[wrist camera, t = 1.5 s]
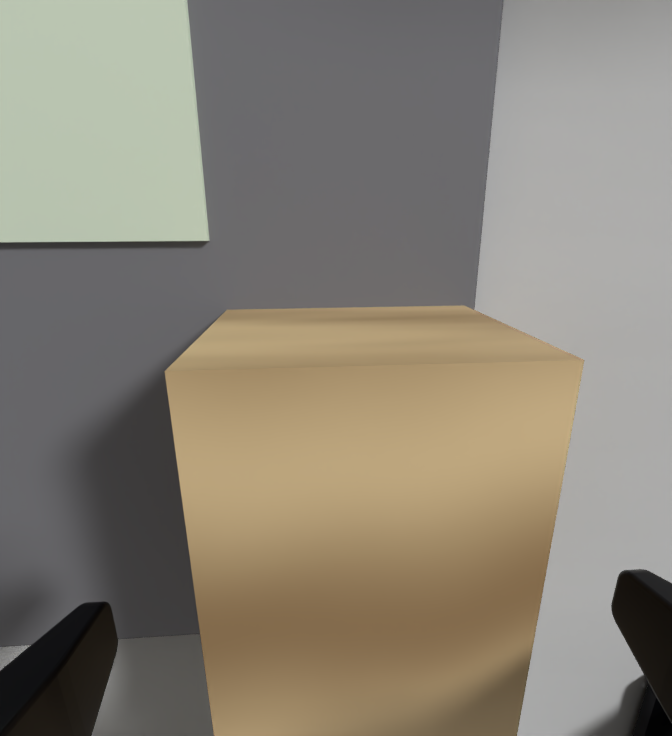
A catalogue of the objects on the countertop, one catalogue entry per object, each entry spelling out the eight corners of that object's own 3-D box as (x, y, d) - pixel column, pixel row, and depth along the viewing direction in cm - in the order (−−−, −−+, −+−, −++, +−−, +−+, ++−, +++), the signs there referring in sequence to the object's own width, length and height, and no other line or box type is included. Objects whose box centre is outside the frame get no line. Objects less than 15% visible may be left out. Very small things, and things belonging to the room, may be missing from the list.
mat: (439, 601, 13) (447, 623, 13) (-171, 639, 12) (-203, 666, 12) (518, -305, 7) (542, -366, 7) (-677, -398, 6) (-815, -486, 5)
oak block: (438, 604, 13) (506, 794, 8) (253, 616, 12) (225, 821, 8) (464, 305, 10) (584, 359, 6) (226, 309, 10) (164, 371, 5)
